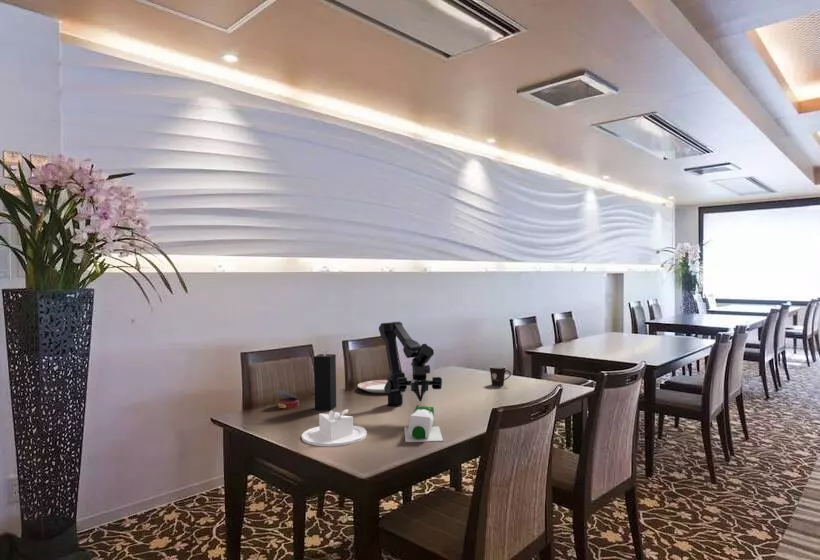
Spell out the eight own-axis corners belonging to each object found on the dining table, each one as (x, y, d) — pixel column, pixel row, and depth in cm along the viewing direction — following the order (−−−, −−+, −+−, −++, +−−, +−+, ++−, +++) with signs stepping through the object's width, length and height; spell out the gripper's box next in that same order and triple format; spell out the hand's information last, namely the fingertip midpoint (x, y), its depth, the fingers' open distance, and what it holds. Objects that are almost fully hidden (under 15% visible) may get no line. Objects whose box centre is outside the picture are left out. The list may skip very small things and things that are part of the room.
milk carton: (413, 424, 219) (406, 438, 199) (414, 402, 219) (408, 414, 199) (434, 427, 217) (429, 441, 198) (436, 404, 217) (431, 417, 198)
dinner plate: (352, 387, 295) (352, 381, 295) (398, 382, 305) (398, 377, 305) (365, 397, 269) (365, 391, 269) (416, 392, 279) (416, 386, 279)
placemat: (404, 427, 215) (404, 427, 215) (438, 427, 216) (438, 426, 216) (405, 442, 197) (405, 441, 197) (443, 441, 198) (442, 440, 198)
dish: (379, 435, 207) (379, 406, 207) (330, 451, 189) (329, 420, 189) (338, 423, 224) (338, 397, 224) (288, 438, 205) (288, 409, 205)
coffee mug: (486, 384, 296) (486, 366, 296) (499, 382, 300) (499, 365, 300) (498, 388, 286) (498, 369, 286) (512, 386, 289) (511, 368, 289)
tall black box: (330, 410, 243) (329, 349, 243) (314, 410, 245) (313, 349, 245) (336, 406, 251) (335, 347, 251) (320, 406, 253) (319, 347, 252)
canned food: (277, 416, 253) (273, 396, 257) (298, 411, 258) (293, 391, 261) (281, 410, 244) (276, 389, 248) (302, 405, 249) (297, 384, 252)
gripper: (397, 358, 226) (397, 390, 215) (441, 358, 226) (443, 389, 215) (397, 373, 234) (397, 405, 223) (439, 373, 234) (442, 404, 223)
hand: (420, 400), depth 221 cm, fingers closed
